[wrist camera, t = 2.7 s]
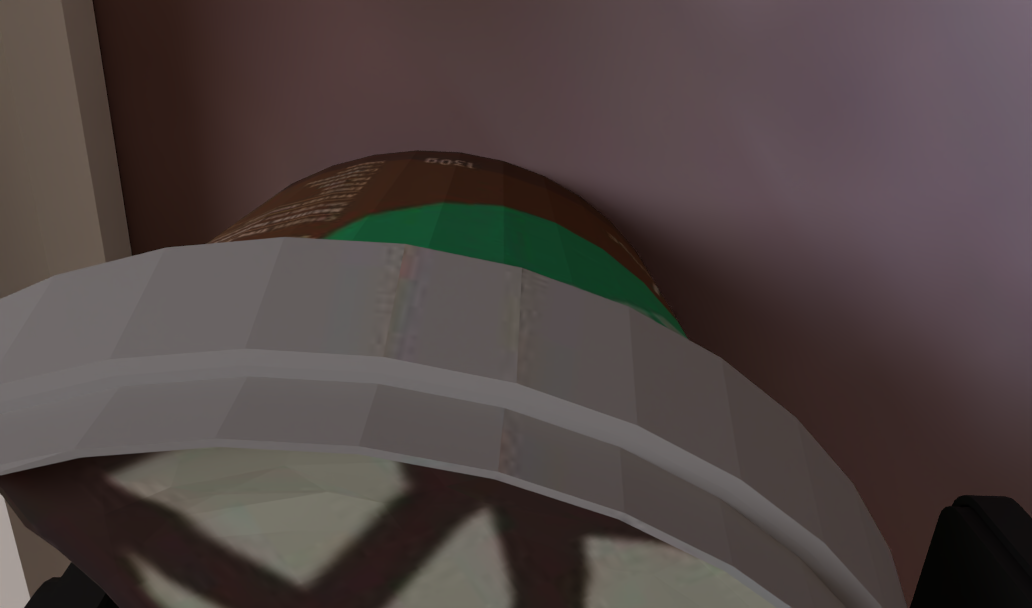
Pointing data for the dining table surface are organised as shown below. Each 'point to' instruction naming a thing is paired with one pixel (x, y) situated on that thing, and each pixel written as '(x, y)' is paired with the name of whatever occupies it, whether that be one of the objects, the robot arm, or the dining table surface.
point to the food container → (412, 417)
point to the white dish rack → (51, 196)
